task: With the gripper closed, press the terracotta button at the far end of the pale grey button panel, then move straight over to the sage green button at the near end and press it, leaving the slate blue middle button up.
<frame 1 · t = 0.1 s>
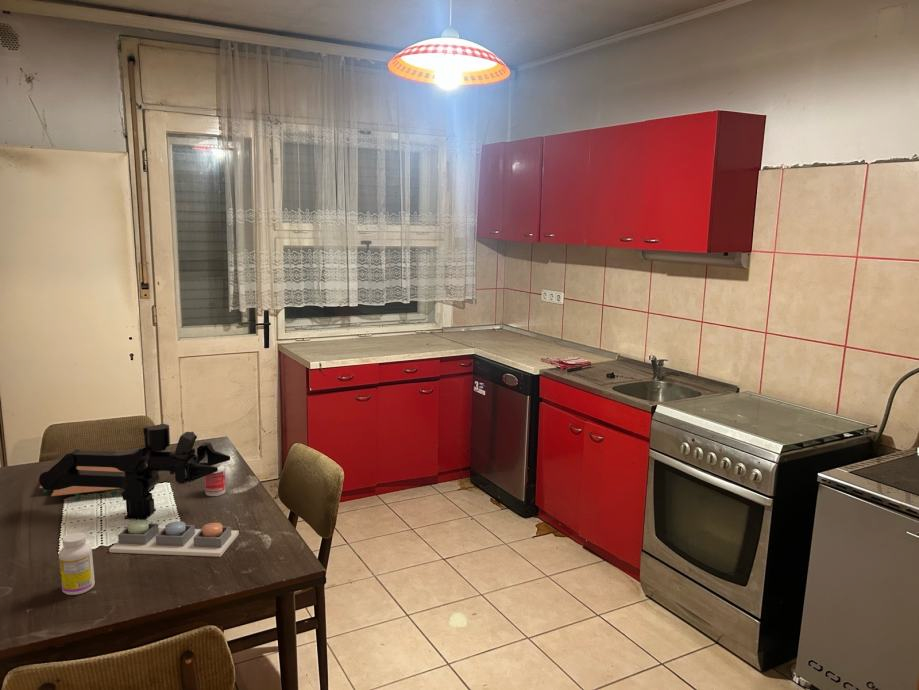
hand: (223, 463, 194), 17 cm above the table, tool horizontal, fingers open, 9 cm apart
pill bottle: (215, 493, 215), on the table
sage button: (138, 528, 181), point 4 cm above the table, slide at 0.0 cm
button panel: (176, 542, 181), on the table
slate blue button: (175, 529, 180), point 4 cm above the table, slide at 0.0 cm
terracotta button: (212, 530, 180), point 4 cm above the table, slide at 0.0 cm
supplement bottle: (78, 589, 158), on the table
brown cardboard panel: (101, 488, 218), on the table
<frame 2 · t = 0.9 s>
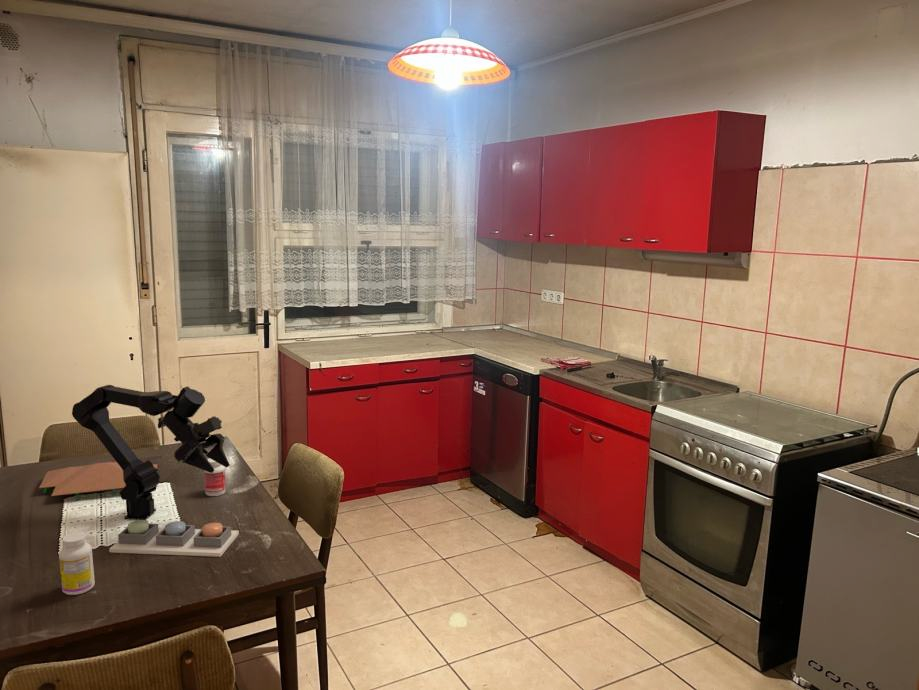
hand: (220, 468, 187), 18 cm above the table, tool tilted 50°, fingers open, 9 cm apart
nothing on the table moved.
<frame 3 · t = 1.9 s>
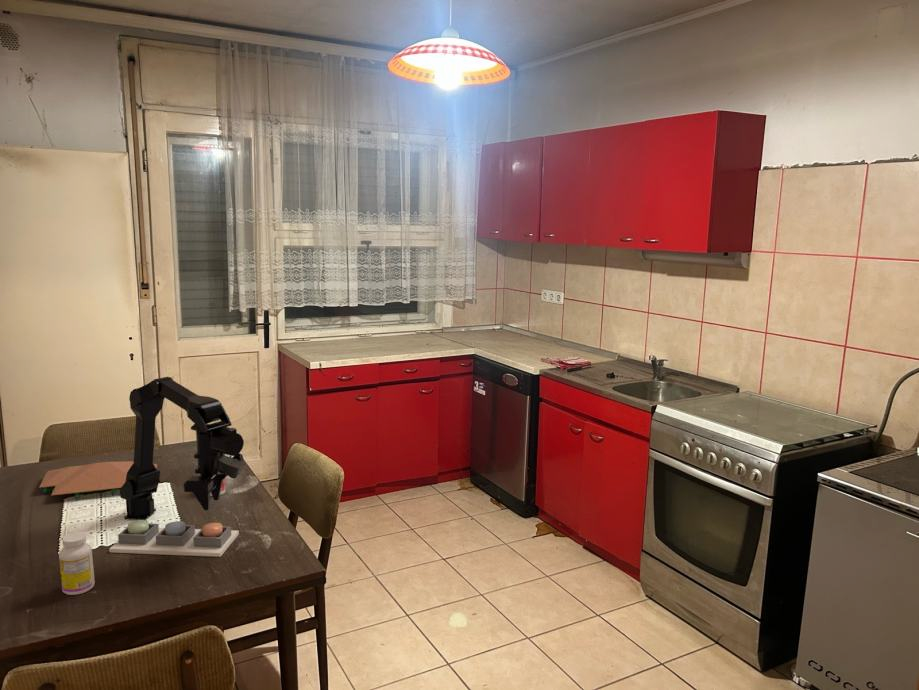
hand: (211, 505, 179), 11 cm above the table, tool pointing down, fingers open, 6 cm apart
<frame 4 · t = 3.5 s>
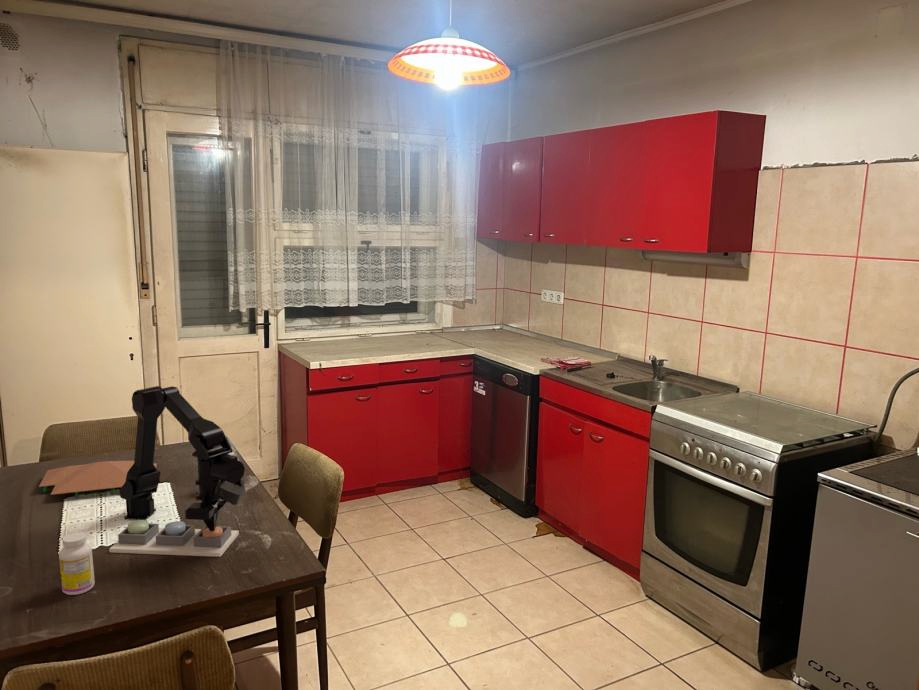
hand: (212, 530, 180), 4 cm above the table, tool pointing down, fingers closed, pressing on terracotta button
terracotta button: (212, 534, 180), point 3 cm above the table, slide at 1.1 cm, touching gripper
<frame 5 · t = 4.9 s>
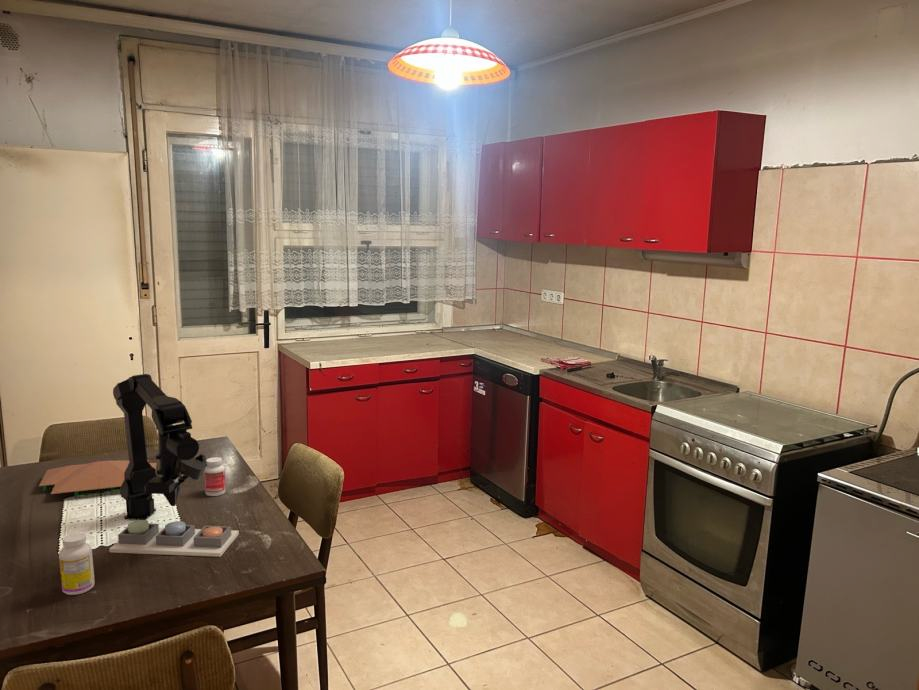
hand: (173, 505, 180), 10 cm above the table, tool pointing down, fingers closed
terracotta button: (212, 534, 180), point 3 cm above the table, slide at 1.1 cm
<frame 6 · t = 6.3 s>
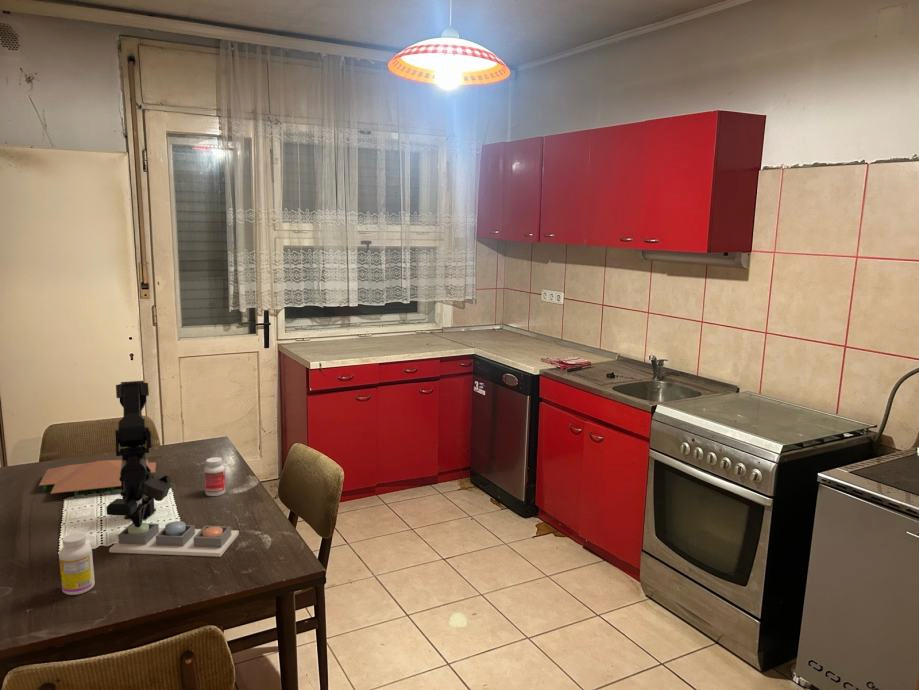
hand: (138, 526, 181), 4 cm above the table, tool pointing down, fingers closed, pressing on sage button
sage button: (138, 530, 181), point 3 cm above the table, slide at 0.8 cm, touching gripper
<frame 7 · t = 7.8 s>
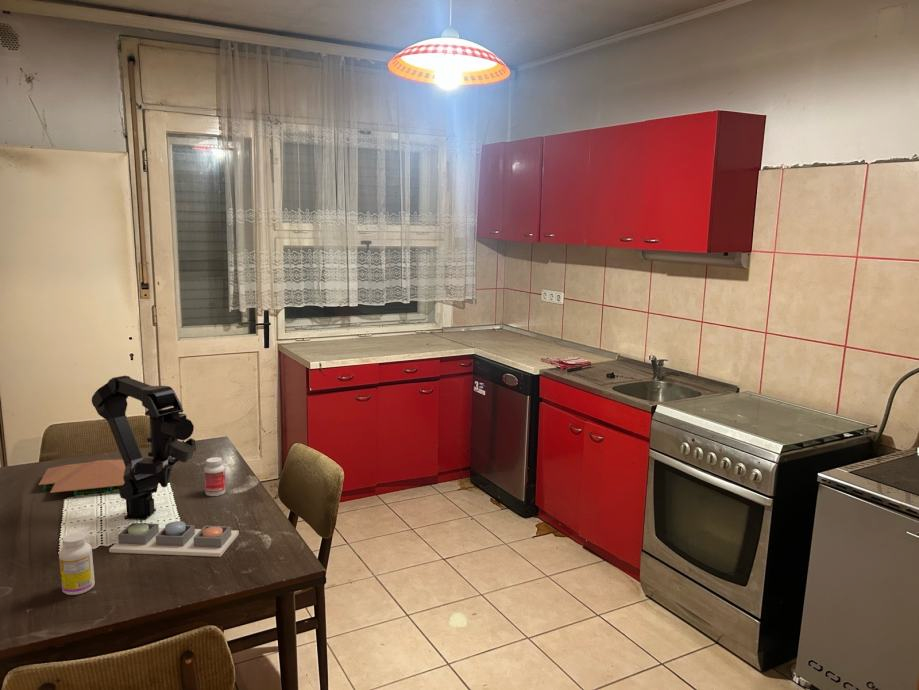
hand: (164, 486, 189), 12 cm above the table, tool pointing down, fingers closed
sage button: (138, 532, 181), point 3 cm above the table, slide at 1.2 cm
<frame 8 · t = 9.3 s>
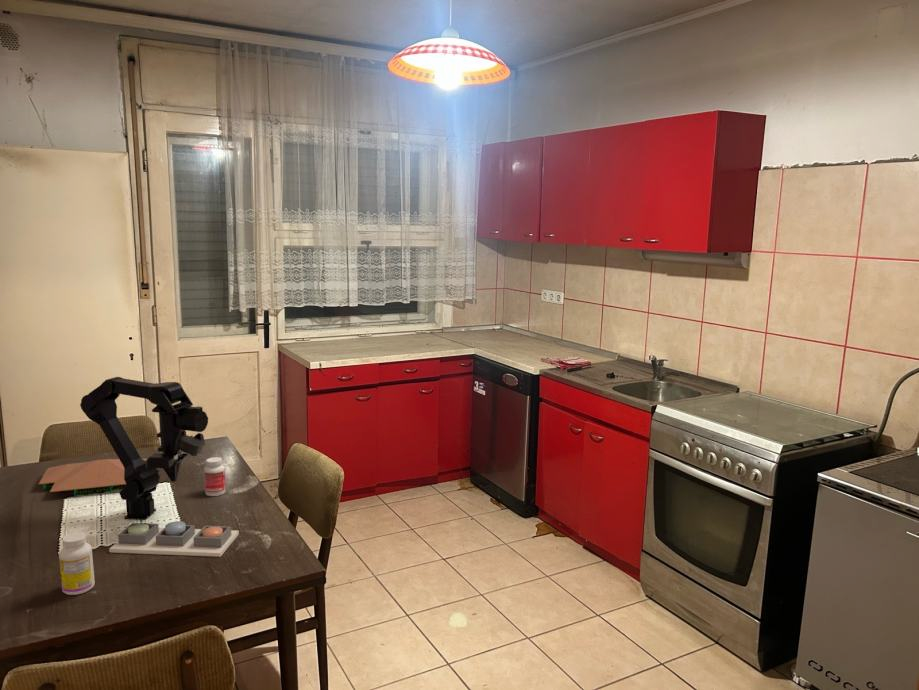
hand: (173, 481, 192), 12 cm above the table, tool pointing down, fingers closed
at the end: terracotta button slide at 1.1 cm; sage button slide at 1.2 cm; slate blue button slide at 0.0 cm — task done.
